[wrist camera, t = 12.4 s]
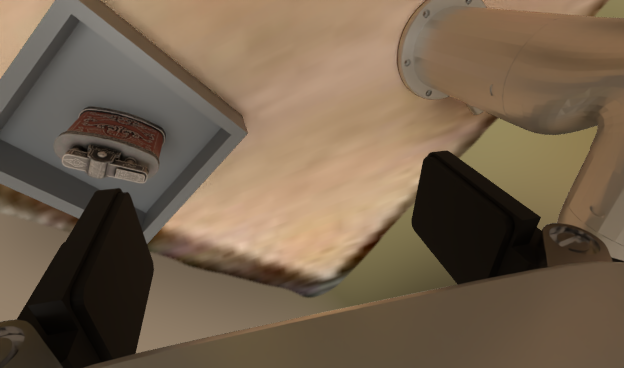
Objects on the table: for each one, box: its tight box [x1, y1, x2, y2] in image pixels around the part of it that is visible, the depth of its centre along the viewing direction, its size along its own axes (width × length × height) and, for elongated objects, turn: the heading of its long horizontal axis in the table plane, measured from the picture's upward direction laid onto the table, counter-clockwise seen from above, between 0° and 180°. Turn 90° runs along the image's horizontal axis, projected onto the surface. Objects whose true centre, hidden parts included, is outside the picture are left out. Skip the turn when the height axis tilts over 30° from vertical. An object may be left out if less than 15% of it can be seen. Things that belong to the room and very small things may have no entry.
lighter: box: [53, 106, 166, 183], centre depth 31 cm, size 8×3×10 cm, turn 65°
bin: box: [0, 0, 248, 243], centre depth 33 cm, size 18×18×6 cm
